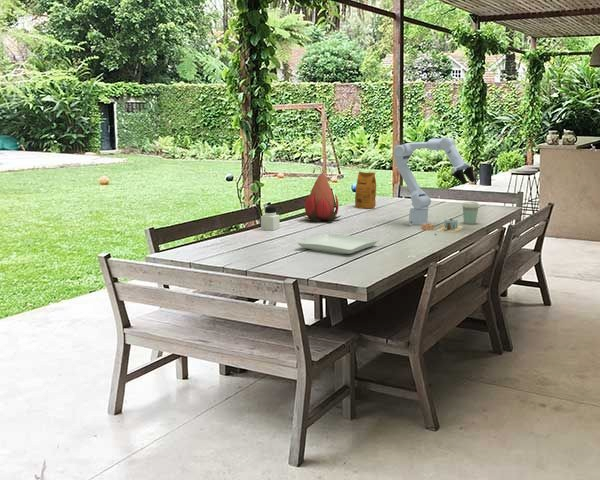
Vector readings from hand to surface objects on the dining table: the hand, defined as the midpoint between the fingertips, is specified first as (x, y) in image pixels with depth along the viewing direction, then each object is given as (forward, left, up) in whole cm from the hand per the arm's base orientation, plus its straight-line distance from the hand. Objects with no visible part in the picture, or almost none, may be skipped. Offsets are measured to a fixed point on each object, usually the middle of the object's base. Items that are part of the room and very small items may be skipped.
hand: (469, 182), depth 346 cm
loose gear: (-19, -7, -25) cm, 32 cm away
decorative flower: (-79, +5, -25) cm, 83 cm away
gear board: (-9, 0, -25) cm, 26 cm away
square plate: (-48, -62, -25) cm, 82 cm away
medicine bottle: (-94, -31, -25) cm, 102 cm away
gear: (-9, +3, -24) cm, 25 cm away
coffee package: (-69, +58, -25) cm, 94 cm away
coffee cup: (-1, +18, -25) cm, 31 cm away
